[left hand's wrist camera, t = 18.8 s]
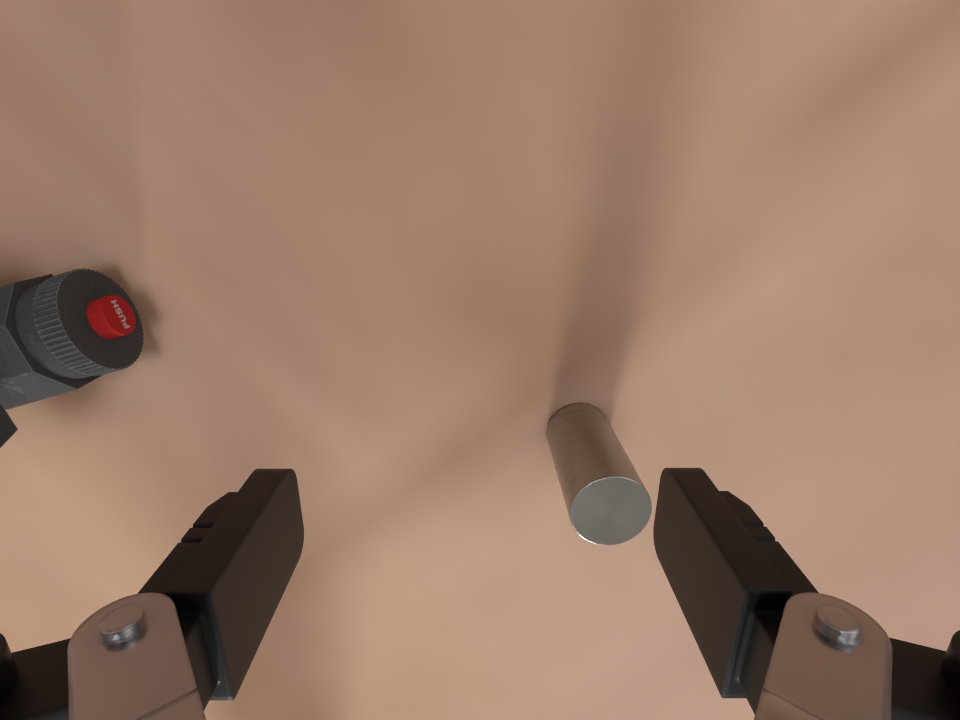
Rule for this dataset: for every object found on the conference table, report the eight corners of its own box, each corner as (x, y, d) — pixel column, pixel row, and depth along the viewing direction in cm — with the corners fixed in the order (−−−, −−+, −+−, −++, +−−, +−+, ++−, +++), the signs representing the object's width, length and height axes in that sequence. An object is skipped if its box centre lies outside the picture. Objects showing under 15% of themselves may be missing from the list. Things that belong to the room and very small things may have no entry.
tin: (533, 437, 36) (552, 519, 27) (574, 391, 35) (608, 461, 26) (580, 469, 37) (613, 558, 28) (621, 425, 36) (669, 504, 27)
